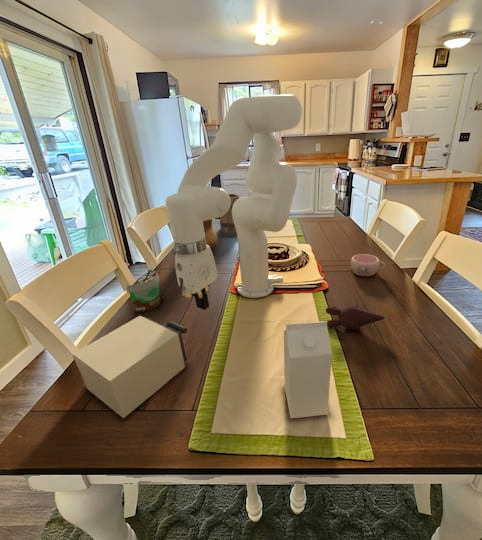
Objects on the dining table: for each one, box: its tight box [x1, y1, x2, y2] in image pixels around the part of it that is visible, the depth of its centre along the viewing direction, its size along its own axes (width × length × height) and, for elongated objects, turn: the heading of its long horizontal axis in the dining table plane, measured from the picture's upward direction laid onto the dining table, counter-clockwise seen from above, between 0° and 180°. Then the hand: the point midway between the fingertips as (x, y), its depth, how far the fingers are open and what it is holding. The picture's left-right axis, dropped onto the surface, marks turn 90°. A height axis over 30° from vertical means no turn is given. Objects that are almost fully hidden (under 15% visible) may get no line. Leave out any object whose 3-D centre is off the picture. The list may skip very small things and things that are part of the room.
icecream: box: [325, 304, 386, 331], centre depth 77 cm, size 7×7×15 cm
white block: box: [72, 315, 186, 419], centre depth 63 cm, size 16×14×10 cm
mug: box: [350, 253, 386, 277], centre depth 106 cm, size 12×10×6 cm
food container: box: [126, 268, 161, 313], centre depth 91 cm, size 12×6×10 cm, turn 168°
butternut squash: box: [203, 219, 219, 252], centre depth 127 cm, size 14×13×25 cm
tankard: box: [216, 193, 240, 238], centre depth 154 cm, size 24×17×20 cm
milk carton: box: [283, 320, 333, 419], centre depth 53 cm, size 7×7×19 cm
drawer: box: [145, 317, 188, 363], centre depth 66 cm, size 19×13×8 cm
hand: (203, 307), depth 79 cm, fingers closed
